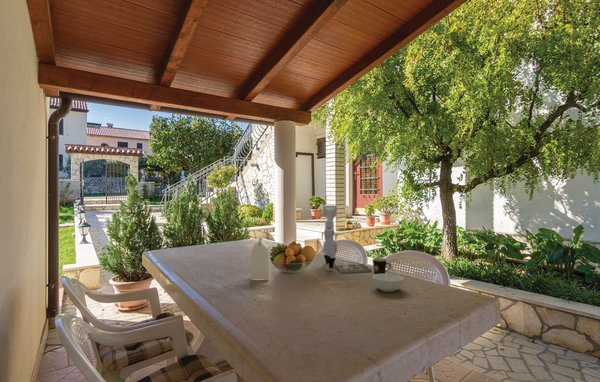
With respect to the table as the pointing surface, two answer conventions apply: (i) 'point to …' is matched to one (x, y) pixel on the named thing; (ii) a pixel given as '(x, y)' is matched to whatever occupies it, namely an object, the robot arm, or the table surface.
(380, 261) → the coffee mug
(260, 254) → the milk
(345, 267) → the cream egg
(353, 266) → the egg carton
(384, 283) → the cereal bowl
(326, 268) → the brown egg
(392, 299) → the table surface
